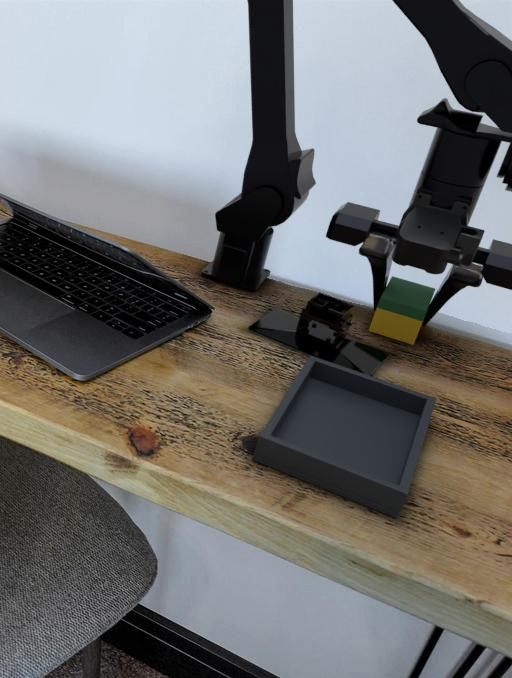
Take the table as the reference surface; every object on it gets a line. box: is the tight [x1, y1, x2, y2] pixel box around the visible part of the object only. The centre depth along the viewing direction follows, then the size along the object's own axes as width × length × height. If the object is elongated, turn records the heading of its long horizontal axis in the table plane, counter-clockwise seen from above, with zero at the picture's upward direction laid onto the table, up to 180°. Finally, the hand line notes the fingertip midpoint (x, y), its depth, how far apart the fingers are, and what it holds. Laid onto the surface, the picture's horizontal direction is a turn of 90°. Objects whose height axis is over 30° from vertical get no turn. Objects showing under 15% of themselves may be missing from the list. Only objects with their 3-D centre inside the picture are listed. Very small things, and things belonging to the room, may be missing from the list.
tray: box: [251, 356, 437, 519], centre depth 68 cm, size 16×11×2 cm
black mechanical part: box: [247, 292, 392, 376], centre depth 82 cm, size 12×7×5 cm, turn 49°
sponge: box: [368, 275, 436, 346], centre depth 87 cm, size 7×4×4 cm, turn 148°
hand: (399, 317), depth 88 cm, fingers closed on sponge, 4 cm apart
